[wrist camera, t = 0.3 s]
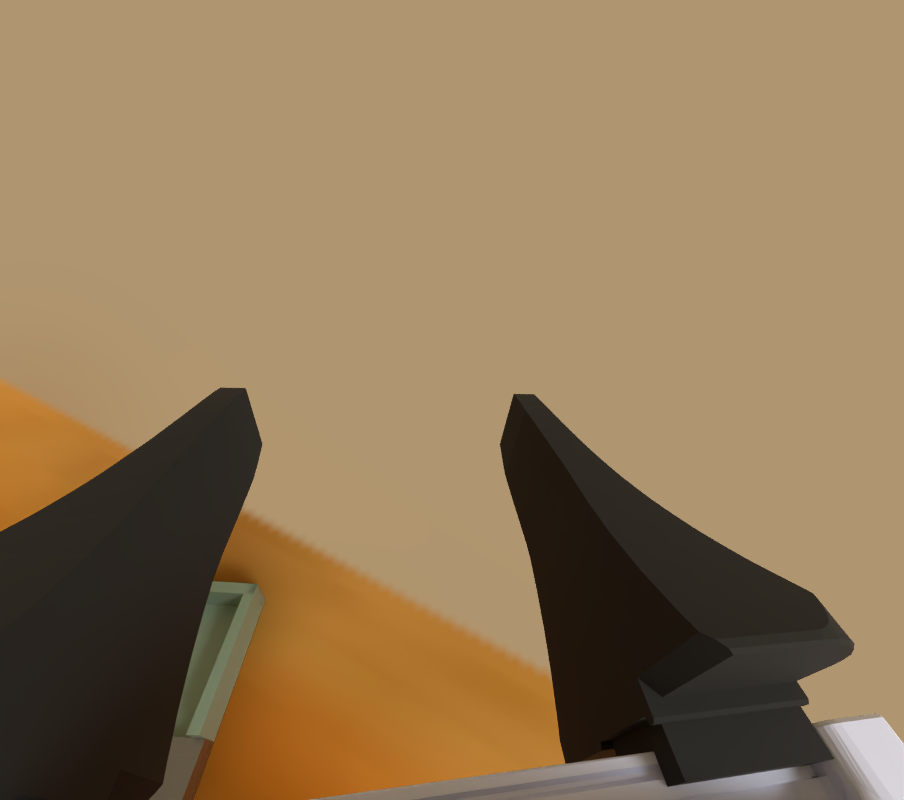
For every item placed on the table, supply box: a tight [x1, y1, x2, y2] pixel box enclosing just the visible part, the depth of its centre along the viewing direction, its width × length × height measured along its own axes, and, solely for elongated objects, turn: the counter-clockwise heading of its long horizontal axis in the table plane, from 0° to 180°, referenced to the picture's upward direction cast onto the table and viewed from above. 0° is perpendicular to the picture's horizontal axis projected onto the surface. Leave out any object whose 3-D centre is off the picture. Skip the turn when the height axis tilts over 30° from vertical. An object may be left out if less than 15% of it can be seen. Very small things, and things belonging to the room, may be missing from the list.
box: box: [173, 581, 265, 742], centre depth 21 cm, size 7×14×2 cm, turn 89°
